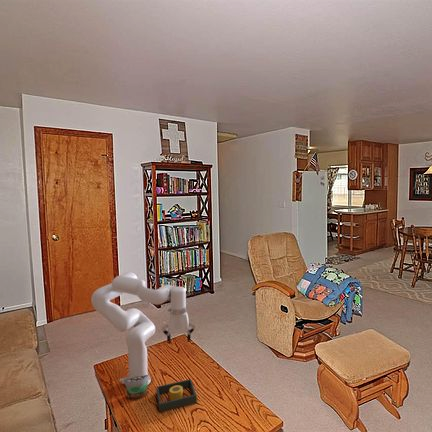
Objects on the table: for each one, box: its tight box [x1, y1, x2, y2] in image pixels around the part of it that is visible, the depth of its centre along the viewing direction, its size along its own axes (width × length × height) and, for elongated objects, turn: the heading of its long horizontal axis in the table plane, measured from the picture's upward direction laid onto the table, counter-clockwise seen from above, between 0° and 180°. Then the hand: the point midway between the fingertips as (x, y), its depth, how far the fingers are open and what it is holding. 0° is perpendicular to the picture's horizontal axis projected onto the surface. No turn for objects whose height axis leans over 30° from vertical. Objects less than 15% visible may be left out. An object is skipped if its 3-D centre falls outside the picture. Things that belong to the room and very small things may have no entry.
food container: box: [123, 373, 150, 400], centre depth 175 cm, size 12×6×10 cm, turn 117°
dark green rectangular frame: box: [156, 378, 197, 413], centre depth 175 cm, size 18×16×4 cm
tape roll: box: [168, 385, 184, 401], centre depth 175 cm, size 7×7×5 cm
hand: (179, 341), depth 181 cm, fingers open, 9 cm apart
